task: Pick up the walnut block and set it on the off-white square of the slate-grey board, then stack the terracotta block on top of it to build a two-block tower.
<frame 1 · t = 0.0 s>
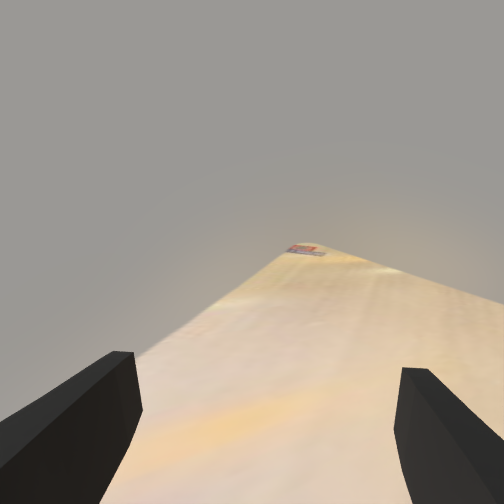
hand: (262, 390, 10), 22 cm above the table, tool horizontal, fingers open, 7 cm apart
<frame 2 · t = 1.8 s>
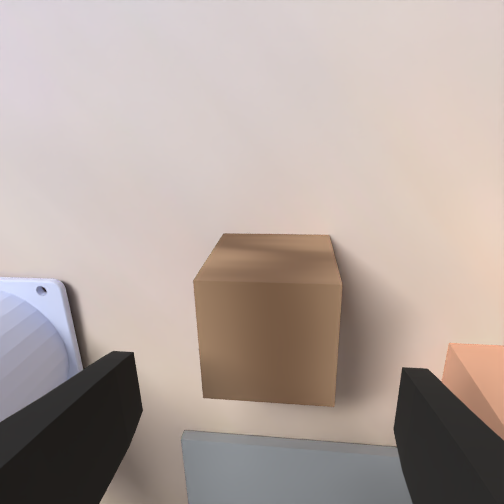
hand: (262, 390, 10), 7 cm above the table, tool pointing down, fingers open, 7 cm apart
terracotta block: (492, 386, 17), on the table
walnut block: (275, 281, 16), on the table
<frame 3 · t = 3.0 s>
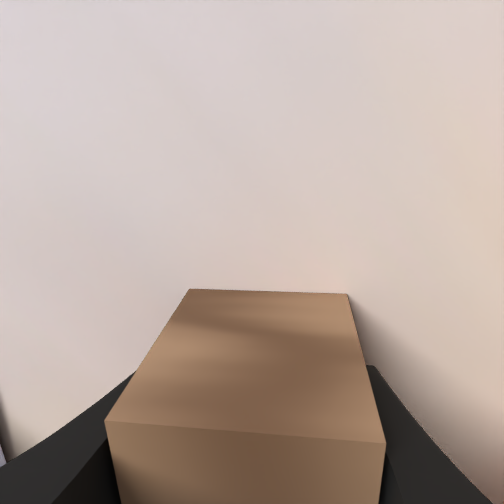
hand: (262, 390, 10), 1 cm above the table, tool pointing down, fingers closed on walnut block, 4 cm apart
walnut block: (266, 357, 11), on the table, touching gripper
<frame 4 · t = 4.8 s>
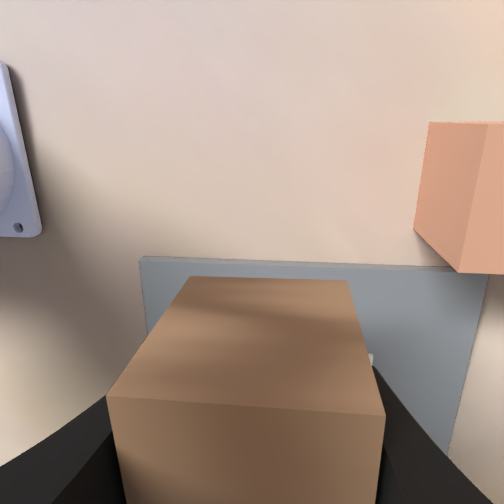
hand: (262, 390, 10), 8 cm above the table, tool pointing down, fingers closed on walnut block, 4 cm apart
terracotta block: (476, 178, 15), on the table
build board: (298, 396, 20), on the table
walnut block: (267, 345, 11), point 7 cm above the table, touching gripper
when the fingers open (3 cm above the table, at t = 6.7 s): walnut block stays where it is, resting on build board.
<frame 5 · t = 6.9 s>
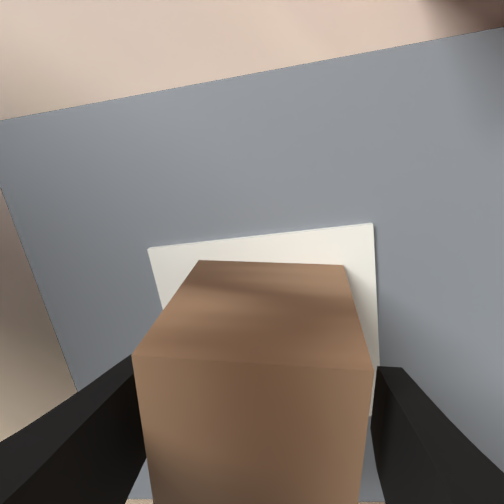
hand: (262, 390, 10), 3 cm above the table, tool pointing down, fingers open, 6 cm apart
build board: (271, 323, 13), on the table
walnut block: (269, 325, 12), point 1 cm above the table, touching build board
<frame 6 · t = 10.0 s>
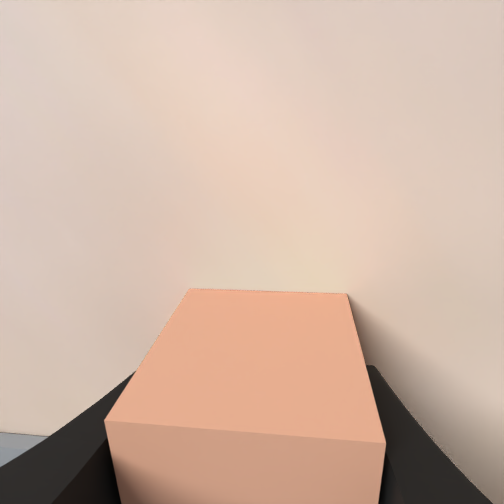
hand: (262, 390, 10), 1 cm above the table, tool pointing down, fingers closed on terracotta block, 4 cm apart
terracotta block: (266, 357, 11), on the table, touching gripper
when the fingers open (8 cm above the table, at t = 13.4 s): terracotta block drops 1 cm, resting on walnut block.
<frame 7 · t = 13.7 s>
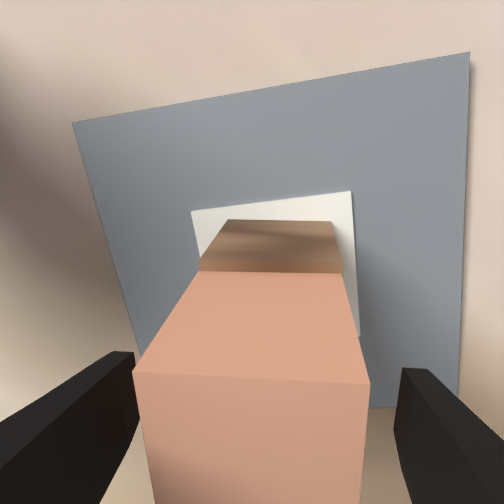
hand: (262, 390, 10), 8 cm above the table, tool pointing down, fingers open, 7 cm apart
terracotta block: (269, 334, 12), point 6 cm above the table, touching walnut block
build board: (279, 269, 18), on the table
walnut block: (277, 267, 17), point 1 cm above the table, touching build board, terracotta block
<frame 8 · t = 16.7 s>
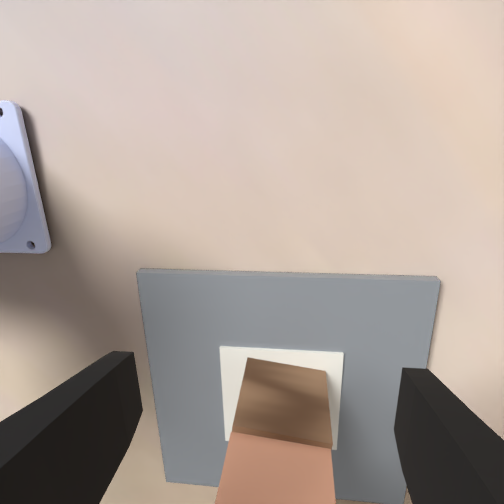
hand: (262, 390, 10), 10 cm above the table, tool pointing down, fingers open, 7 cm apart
terracotta block: (274, 475, 17), point 6 cm above the table, touching walnut block
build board: (280, 391, 23), on the table
walnut block: (280, 395, 22), point 1 cm above the table, touching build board, terracotta block
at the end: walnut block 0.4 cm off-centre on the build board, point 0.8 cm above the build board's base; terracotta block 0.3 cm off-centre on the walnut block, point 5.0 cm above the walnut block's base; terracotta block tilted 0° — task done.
